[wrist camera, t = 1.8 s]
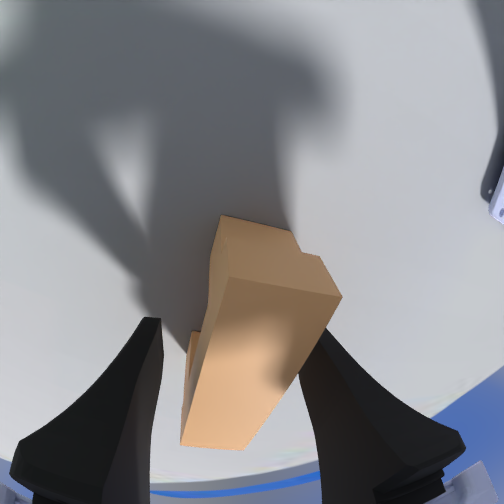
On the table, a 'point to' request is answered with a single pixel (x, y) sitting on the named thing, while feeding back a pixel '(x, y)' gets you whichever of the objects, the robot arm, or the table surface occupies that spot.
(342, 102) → the table surface
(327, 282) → the tan wooden block
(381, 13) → the table surface
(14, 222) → the table surface
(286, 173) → the table surface
